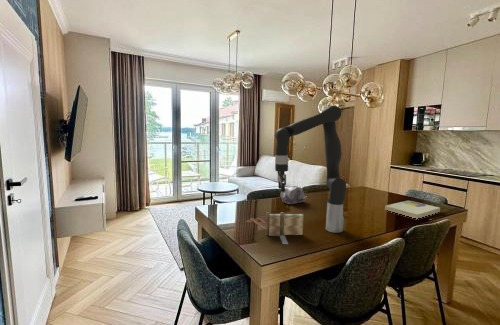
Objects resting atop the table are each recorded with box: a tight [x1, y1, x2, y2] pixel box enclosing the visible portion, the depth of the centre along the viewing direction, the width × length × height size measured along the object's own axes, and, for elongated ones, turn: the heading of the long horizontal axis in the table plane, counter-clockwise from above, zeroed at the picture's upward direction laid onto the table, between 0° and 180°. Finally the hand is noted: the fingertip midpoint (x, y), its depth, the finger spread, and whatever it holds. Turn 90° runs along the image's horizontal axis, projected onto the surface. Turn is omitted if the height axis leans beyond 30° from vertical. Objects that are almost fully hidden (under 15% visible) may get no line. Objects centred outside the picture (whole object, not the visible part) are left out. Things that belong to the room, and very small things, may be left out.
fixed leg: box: [265, 211, 285, 236], centre depth 140 cm, size 10×2×13 cm, turn 93°
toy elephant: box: [279, 185, 308, 205], centre depth 209 cm, size 20×18×15 cm
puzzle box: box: [384, 200, 441, 220], centre depth 193 cm, size 36×5×24 cm
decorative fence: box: [245, 216, 266, 231], centre depth 157 cm, size 23×2×15 cm
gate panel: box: [284, 213, 304, 236], centre depth 141 cm, size 10×2×12 cm, turn 93°
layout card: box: [268, 235, 289, 245], centre depth 137 cm, size 24×15×1 cm, turn 93°
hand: (281, 190), depth 146 cm, fingers open, 8 cm apart
